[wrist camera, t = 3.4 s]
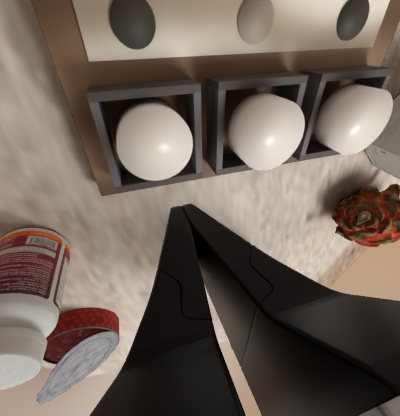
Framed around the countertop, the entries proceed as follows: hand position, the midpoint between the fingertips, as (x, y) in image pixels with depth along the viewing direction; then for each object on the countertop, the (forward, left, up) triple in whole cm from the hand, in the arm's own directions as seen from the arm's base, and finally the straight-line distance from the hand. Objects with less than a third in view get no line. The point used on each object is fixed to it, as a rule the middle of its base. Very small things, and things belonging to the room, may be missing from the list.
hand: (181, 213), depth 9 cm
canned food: (-28, +14, -13) cm, 34 cm away
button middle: (0, -8, -9) cm, 12 cm away
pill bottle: (-11, +13, -13) cm, 21 cm away
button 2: (0, 0, -10) cm, 10 cm away
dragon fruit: (-15, -29, -13) cm, 35 cm away
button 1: (0, -16, -9) cm, 18 cm away
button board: (+2, -8, -13) cm, 15 cm away
